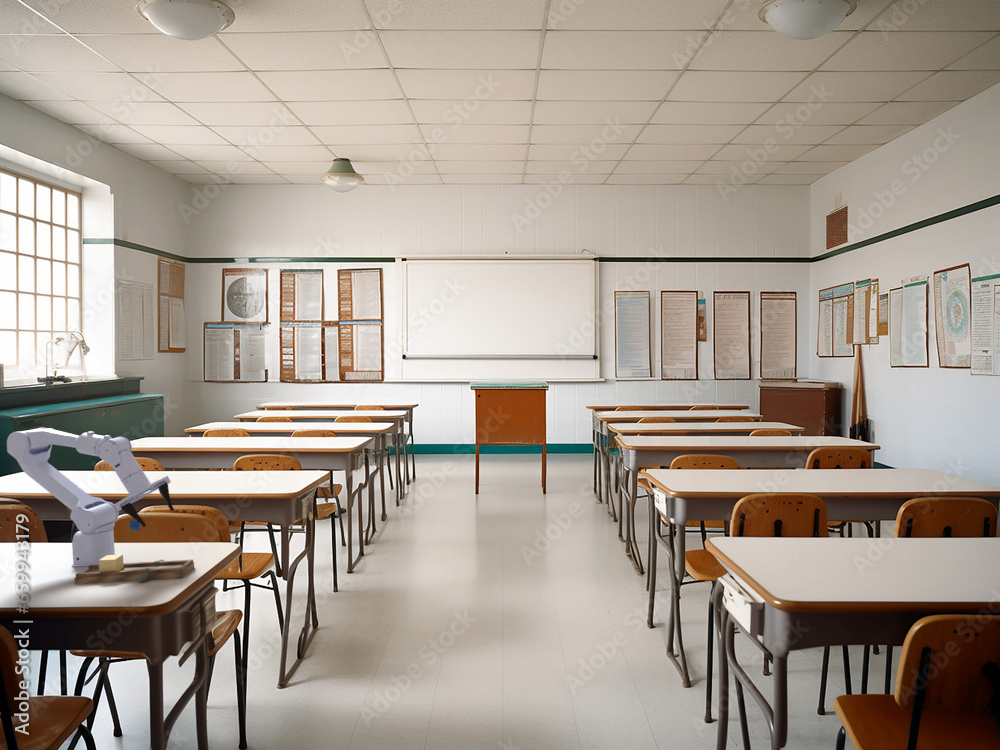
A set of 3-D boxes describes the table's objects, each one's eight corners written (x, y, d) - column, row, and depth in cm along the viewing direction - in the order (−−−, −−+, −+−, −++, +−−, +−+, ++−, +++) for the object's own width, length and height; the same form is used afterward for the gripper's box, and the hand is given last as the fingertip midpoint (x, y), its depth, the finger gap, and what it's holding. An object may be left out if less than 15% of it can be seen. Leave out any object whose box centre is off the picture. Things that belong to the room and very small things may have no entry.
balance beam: (70, 586, 162) (70, 576, 162) (95, 570, 174) (95, 561, 173) (179, 580, 164) (178, 570, 164) (196, 565, 176) (196, 555, 176)
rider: (99, 573, 166) (98, 560, 166) (107, 568, 170) (106, 555, 170) (115, 572, 166) (115, 559, 166) (123, 567, 170) (122, 554, 170)
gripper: (104, 488, 172) (131, 532, 172) (158, 460, 180) (185, 501, 179) (105, 492, 178) (132, 534, 178) (158, 464, 186) (184, 505, 185)
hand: (159, 518), depth 179 cm, fingers open, 7 cm apart
